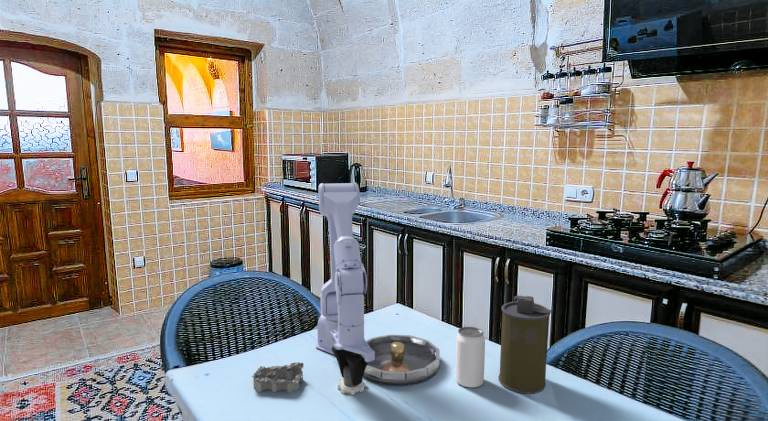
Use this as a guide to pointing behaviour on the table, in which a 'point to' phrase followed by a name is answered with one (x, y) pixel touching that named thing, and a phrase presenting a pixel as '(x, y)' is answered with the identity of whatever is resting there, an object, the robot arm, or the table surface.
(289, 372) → the egg carton
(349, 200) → the robot arm
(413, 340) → the bowl
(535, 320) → the canister
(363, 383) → the gear
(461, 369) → the can
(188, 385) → the table surface
